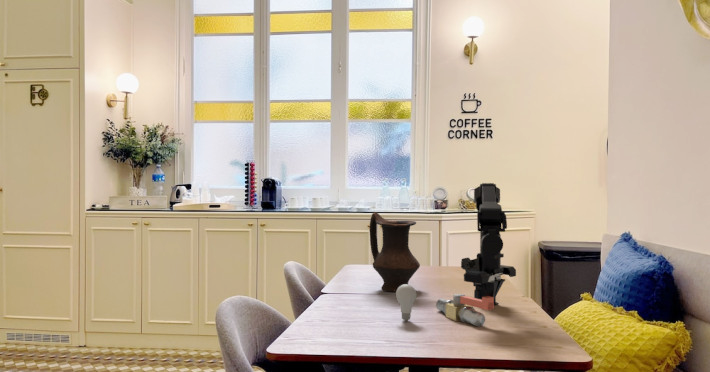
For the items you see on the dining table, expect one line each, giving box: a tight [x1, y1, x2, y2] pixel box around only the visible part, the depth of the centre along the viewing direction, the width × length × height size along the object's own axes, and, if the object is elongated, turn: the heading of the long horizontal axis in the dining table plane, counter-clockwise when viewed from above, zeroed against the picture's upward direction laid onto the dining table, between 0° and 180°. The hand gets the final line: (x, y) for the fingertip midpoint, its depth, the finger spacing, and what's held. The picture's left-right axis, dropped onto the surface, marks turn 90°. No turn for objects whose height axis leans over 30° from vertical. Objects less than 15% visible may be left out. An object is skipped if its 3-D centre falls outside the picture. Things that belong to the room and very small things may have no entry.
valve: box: [435, 297, 486, 327], centre depth 170 cm, size 6×22×5 cm, turn 20°
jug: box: [369, 212, 421, 293], centre depth 219 cm, size 21×18×30 cm
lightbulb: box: [395, 283, 417, 322], centre depth 166 cm, size 6×6×11 cm
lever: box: [452, 293, 495, 311], centre depth 166 cm, size 15×4×4 cm, turn 32°
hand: (490, 303), depth 163 cm, fingers closed
